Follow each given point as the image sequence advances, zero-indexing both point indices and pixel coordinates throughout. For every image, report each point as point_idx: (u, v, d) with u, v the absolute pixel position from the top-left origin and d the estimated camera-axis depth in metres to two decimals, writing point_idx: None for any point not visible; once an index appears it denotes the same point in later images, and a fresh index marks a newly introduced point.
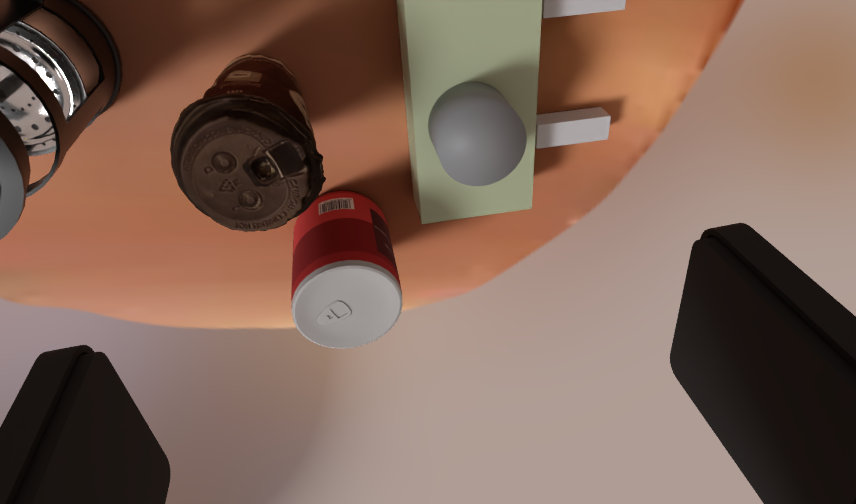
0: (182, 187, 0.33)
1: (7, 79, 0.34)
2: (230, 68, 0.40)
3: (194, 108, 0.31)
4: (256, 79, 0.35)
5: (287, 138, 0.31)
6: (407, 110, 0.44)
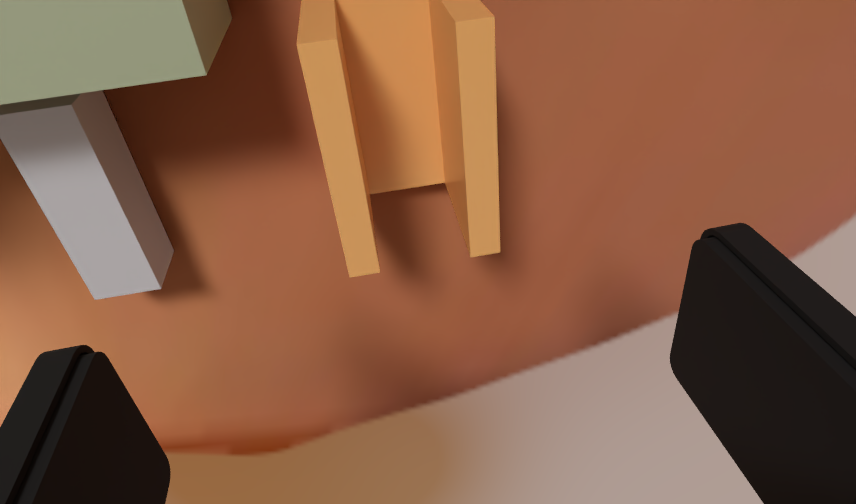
0: None
1: None
2: None
3: None
4: None
5: None
6: None
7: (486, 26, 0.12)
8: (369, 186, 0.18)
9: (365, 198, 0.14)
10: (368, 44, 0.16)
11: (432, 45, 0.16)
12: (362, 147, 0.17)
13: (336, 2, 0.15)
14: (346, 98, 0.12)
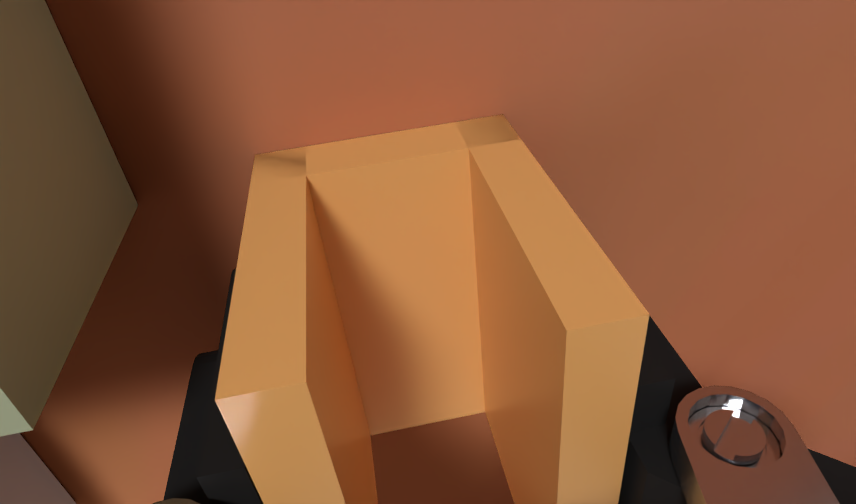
0: None
1: None
2: None
3: None
4: None
5: None
6: None
7: (629, 329, 0.06)
8: (369, 426, 0.12)
9: None
10: (367, 247, 0.09)
11: (474, 242, 0.09)
12: (358, 380, 0.11)
13: (311, 190, 0.09)
14: (330, 467, 0.06)
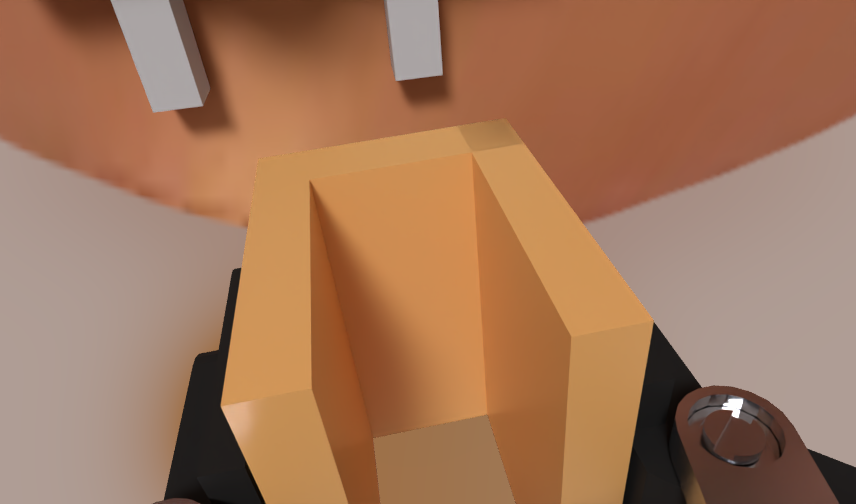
0: None
1: None
2: None
3: None
4: None
5: None
6: None
7: (633, 335, 0.06)
8: (372, 429, 0.12)
9: None
10: (370, 250, 0.09)
11: (477, 246, 0.10)
12: (361, 383, 0.11)
13: (315, 194, 0.09)
14: (335, 472, 0.06)
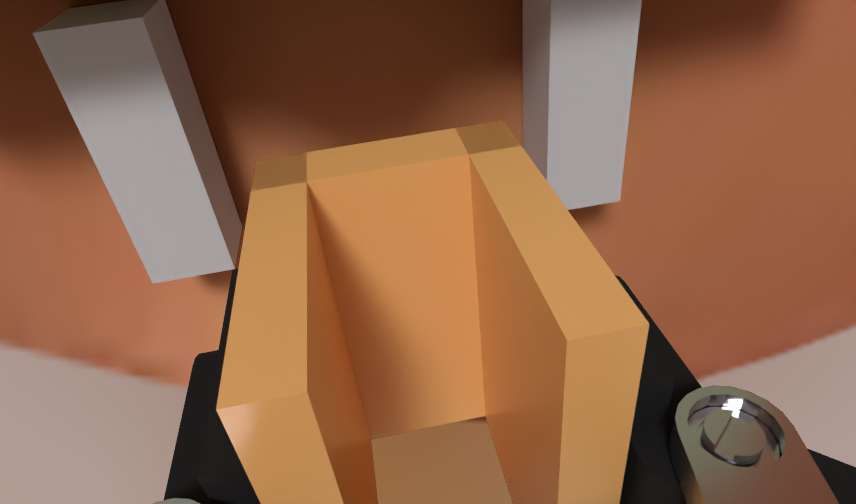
0: None
1: None
2: None
3: None
4: None
5: None
6: None
7: (629, 339, 0.06)
8: (370, 431, 0.12)
9: None
10: (368, 252, 0.09)
11: (474, 248, 0.10)
12: (359, 385, 0.11)
13: (312, 196, 0.09)
14: (331, 475, 0.06)
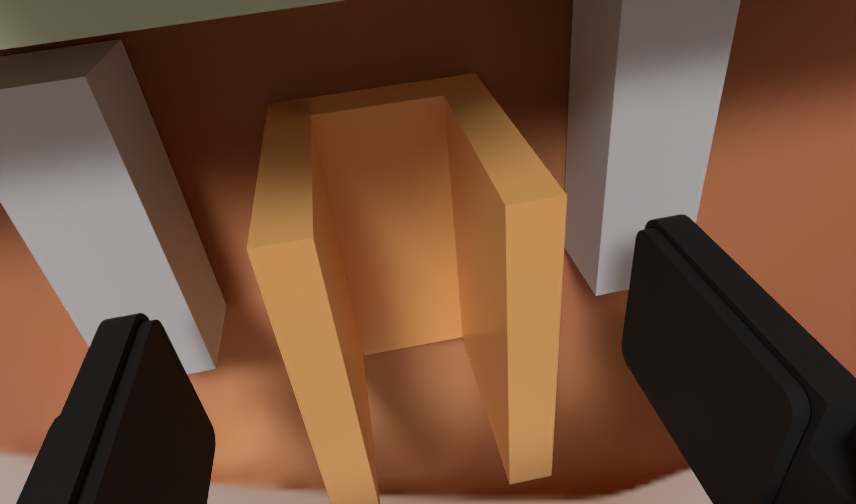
0: None
1: None
2: None
3: None
4: None
5: None
6: None
7: (553, 208, 0.07)
8: (362, 347, 0.14)
9: (359, 432, 0.09)
10: (361, 180, 0.11)
11: (450, 178, 0.11)
12: (353, 302, 0.13)
13: (315, 128, 0.10)
14: (330, 315, 0.08)
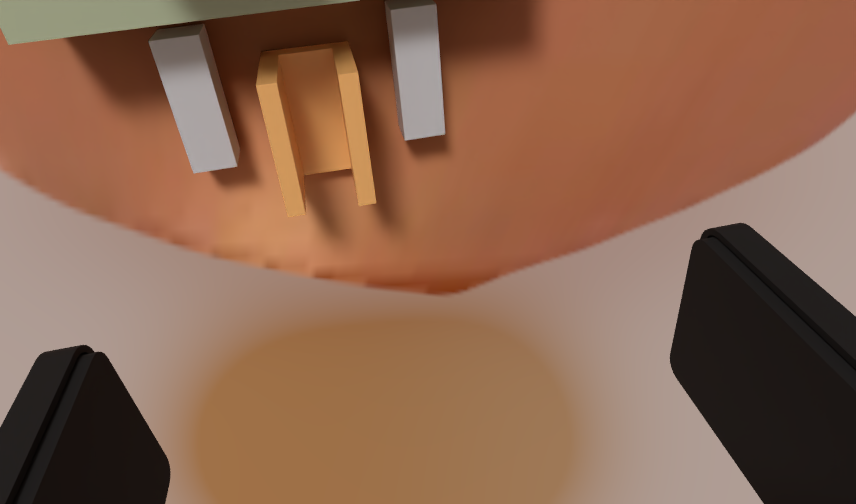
0: None
1: None
2: None
3: None
4: None
5: None
6: None
7: (354, 76, 0.23)
8: (303, 170, 0.29)
9: (295, 168, 0.25)
10: (299, 84, 0.27)
11: (337, 84, 0.27)
12: (298, 145, 0.29)
13: (280, 60, 0.26)
14: (282, 113, 0.23)
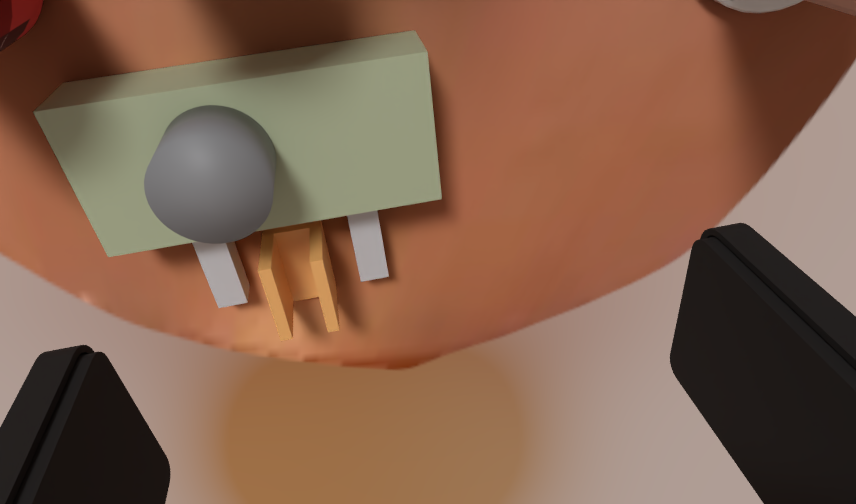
0: None
1: None
2: None
3: None
4: None
5: None
6: (207, 66, 0.32)
7: (320, 262, 0.36)
8: (293, 298, 0.43)
9: (284, 313, 0.38)
10: (288, 249, 0.40)
11: None
12: (288, 284, 0.42)
13: (275, 236, 0.39)
14: (275, 284, 0.37)
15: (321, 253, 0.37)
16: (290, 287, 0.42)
